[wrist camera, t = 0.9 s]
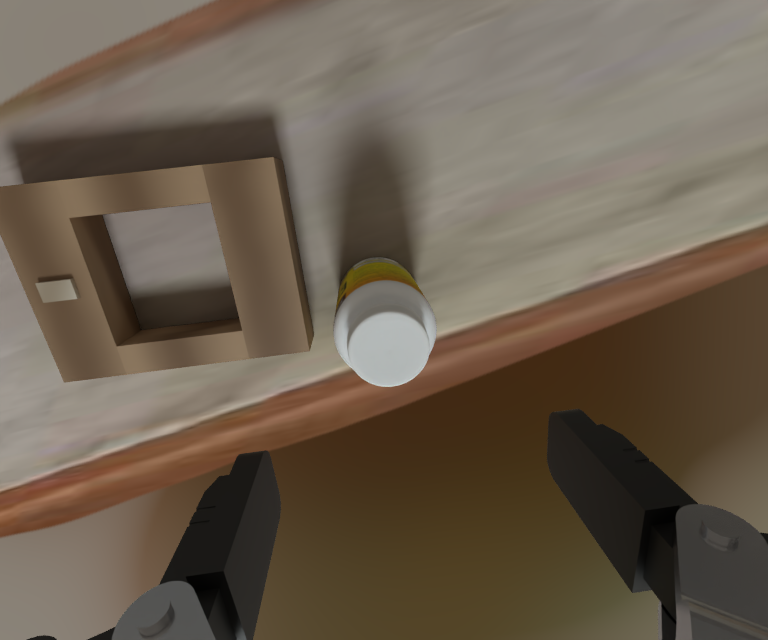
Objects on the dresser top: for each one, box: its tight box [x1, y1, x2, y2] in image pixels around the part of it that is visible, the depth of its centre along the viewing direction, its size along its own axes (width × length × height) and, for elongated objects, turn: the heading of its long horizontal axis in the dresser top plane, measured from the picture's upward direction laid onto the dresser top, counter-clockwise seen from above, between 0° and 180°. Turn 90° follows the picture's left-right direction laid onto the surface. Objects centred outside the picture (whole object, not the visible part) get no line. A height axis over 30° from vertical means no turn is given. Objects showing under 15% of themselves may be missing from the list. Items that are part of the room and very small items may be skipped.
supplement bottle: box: [333, 257, 437, 387], centre depth 23 cm, size 6×6×10 cm
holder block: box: [0, 157, 314, 382], centre depth 25 cm, size 16×12×3 cm
